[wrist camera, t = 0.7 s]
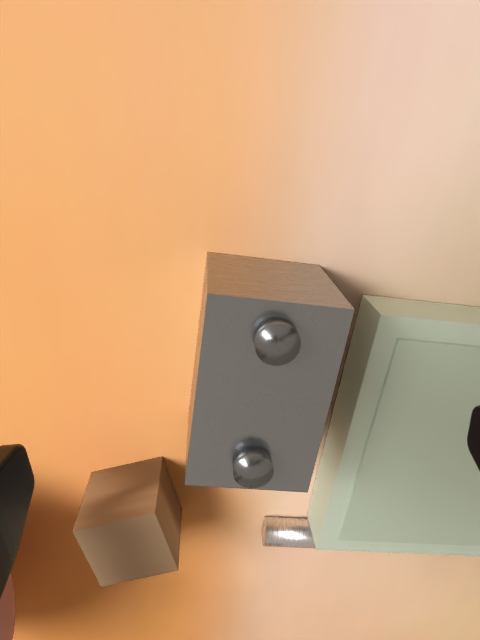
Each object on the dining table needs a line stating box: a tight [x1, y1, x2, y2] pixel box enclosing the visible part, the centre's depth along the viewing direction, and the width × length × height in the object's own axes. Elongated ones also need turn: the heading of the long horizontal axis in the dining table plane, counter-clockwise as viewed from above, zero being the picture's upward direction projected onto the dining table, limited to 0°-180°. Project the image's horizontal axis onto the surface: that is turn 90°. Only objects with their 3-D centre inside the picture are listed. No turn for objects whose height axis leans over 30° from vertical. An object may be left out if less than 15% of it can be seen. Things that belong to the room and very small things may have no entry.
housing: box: [185, 252, 355, 492], centre depth 19 cm, size 5×8×6 cm, turn 172°
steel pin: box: [262, 516, 316, 548], centre depth 27 cm, size 7×2×2 cm
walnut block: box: [72, 457, 182, 587], centre depth 24 cm, size 4×4×4 cm
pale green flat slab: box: [307, 295, 480, 556], centre depth 24 cm, size 12×14×3 cm
